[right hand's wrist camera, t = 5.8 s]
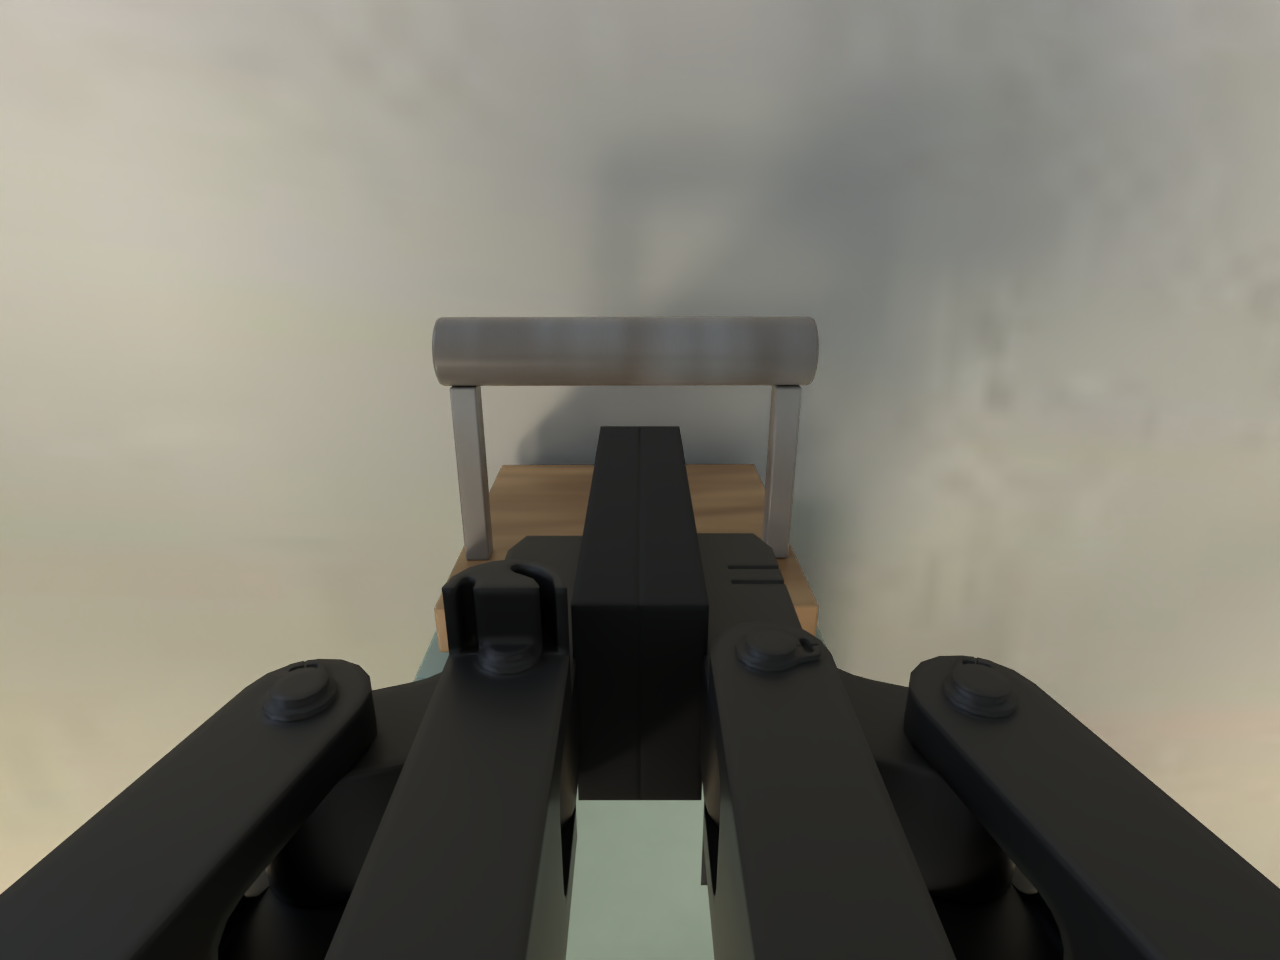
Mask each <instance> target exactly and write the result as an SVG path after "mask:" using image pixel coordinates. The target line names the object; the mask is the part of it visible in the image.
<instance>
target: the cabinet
mask: <svg viewBox="0 0 1280 960" xmlns="http://www.w3.org/2000/svg"><path fill="white" fill-rule="evenodd" d="M815 637H816V638H818V639H820V640H821V641H822V642H823V644H824V645H825V643H824V641H823V639H822V636H821V634H820V632H819V629H818V627H816V636H815ZM448 656H449V652H440V650H439V644H438V635H437V630H436V632H435V635H434V637H433V639H432V641H431V644H430V646H429V648H428V650H427V652H426V655H425V657H424V659H423V661H422V664H421V666H420V668H419V670H418V673H417V675H416V677H415V680H414V681H413V682H415V681H418V680H422V679H426V678H429V677H431V676H433V675H436V674H438V673H440V672H442V671H443V668H444V666H445V663H446V661H447V658H448ZM703 817H704V793H703V784H702V800H578V788H577V797H576V818H577V845H576V856H575V866H574V877H573V887H572V898H571V909H570V919H569V930H568V941H567V951H566V960H714V950H713V940H712V929H711V918H710V908H709V897H708V886H707V885H701V866H702V842H703Z"/></svg>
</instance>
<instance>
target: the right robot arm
mask: <svg viewBox="0 0 1280 960" xmlns="http://www.w3.org/2000/svg"><path fill="white" fill-rule="evenodd" d="M442 595H443V604H444V613H445V622H446V631H447V640H448V649H449V656H448V658H447V661H446V663H445V666H444V668H443V671H442V672H440V673H438V674H436V675H433V676H431V677H429V678H426V679H422V680H418V681H415V682H411V683H407V684H402V685H397V686H392V687H387V688H382V689H378V690H373V691H372V688H371V682H370V676H369V675H368V674H367V673H366V672H365V671H364V670H363V669H362V668H361V667H360V666H359V665H356V664H353V663H350V662H347V661H344V660H337V659H316V660H307V661H305V662H304V661H301V662H297V663H293V664H290V665H288V666H286V667H283V668H280V669H278V670H275V671H273V672H270V673H268V674H266V675H264V676H263V677H261V678H260V679H258V680H257V681H255V682H254V683H252V684H250V685H249V686H247V687H246V688H245V689H243V690H242V691H241V692H240V693H239V694H237V695H236V696H235V697H234V698H233V699H232V700H230V701H229V702H228V703H227V704H226V705H224V706H223V707H222V708H221V709H220V710H219V711H217V712H216V713H215V714H214V715H213V716H211V717H210V718H209V719H208V720H207V721H206V722H204V723H203V724H202V725H201V726H200V727H198V728H197V729H196V730H195V731H194V732H192V733H191V734H190V735H189V736H188V737H187V738H185V739H184V740H183V741H182V742H181V743H179V744H178V745H177V746H176V747H175V748H174V749H172V750H171V751H170V752H169V753H168V754H166V755H165V756H164V757H163V758H162V759H161V760H159V761H158V762H157V763H156V764H155V765H153V766H152V767H151V768H150V769H149V770H147V771H146V772H145V773H144V774H143V775H142V776H140V777H139V778H138V779H137V780H136V781H134V782H133V783H132V784H131V785H130V786H129V787H127V788H126V789H125V790H124V791H123V792H121V793H120V794H119V795H118V796H117V797H116V798H114V799H113V800H112V801H111V802H110V803H108V804H107V805H106V806H105V807H104V808H103V809H101V810H100V811H99V812H98V813H97V814H95V815H94V816H93V817H92V818H91V819H89V820H88V821H87V822H86V823H85V824H84V825H82V826H81V827H80V828H79V829H78V830H76V831H75V832H74V833H73V834H72V835H71V836H69V837H68V838H67V839H66V840H65V841H63V842H62V843H61V844H60V845H59V846H58V847H56V848H55V849H54V850H53V851H52V852H50V853H49V854H48V855H47V856H46V857H44V858H43V859H42V860H41V861H40V862H39V863H37V864H36V865H35V866H34V867H33V868H31V869H30V870H29V871H28V872H27V873H26V874H24V875H23V876H22V877H21V878H20V879H18V880H17V881H16V882H15V883H14V884H13V885H11V886H10V887H9V888H8V889H7V890H5V891H4V892H3V893H2V894H1V895H0V960H566V951H567V941H568V930H569V919H570V909H571V898H572V887H573V877H574V866H575V856H576V845H577V818H576V797H577V788H578V800H702V784H703V793H704V817H703V842H702V866H701V885H707V886H708V897H709V908H710V918H711V929H712V940H713V950H714V960H1280V889H1279V888H1278V887H1277V886H1276V885H1275V884H1273V883H1272V882H1271V881H1270V880H1269V879H1267V878H1266V877H1265V876H1264V875H1263V874H1261V873H1260V872H1259V871H1258V870H1257V869H1256V868H1254V867H1253V866H1252V865H1251V864H1250V863H1248V862H1247V861H1246V860H1245V859H1244V858H1242V857H1241V856H1240V855H1239V854H1238V853H1236V852H1235V851H1234V850H1233V849H1232V848H1230V847H1229V846H1228V845H1227V844H1226V843H1224V842H1223V841H1222V840H1221V839H1220V838H1218V837H1217V836H1216V835H1215V834H1214V833H1213V832H1211V831H1210V830H1209V829H1208V828H1207V827H1205V826H1204V825H1203V824H1202V823H1201V822H1199V821H1198V820H1197V819H1196V818H1195V817H1193V816H1192V815H1191V814H1190V813H1189V812H1187V811H1186V810H1185V809H1184V808H1183V807H1181V806H1180V805H1179V804H1178V803H1177V802H1175V801H1174V800H1173V799H1172V798H1171V797H1170V796H1168V795H1167V794H1166V793H1165V792H1164V791H1162V790H1161V789H1160V788H1159V787H1158V786H1156V785H1155V784H1154V783H1153V782H1152V781H1150V780H1149V779H1148V778H1147V777H1146V776H1144V775H1143V774H1142V773H1141V772H1140V771H1138V770H1137V769H1136V768H1135V767H1134V766H1132V765H1131V764H1130V763H1129V762H1128V761H1127V760H1125V759H1124V758H1123V757H1122V756H1121V755H1119V754H1118V753H1117V752H1116V751H1115V750H1113V749H1112V748H1111V747H1110V746H1109V745H1107V744H1106V743H1105V742H1104V741H1103V740H1101V739H1100V738H1099V737H1098V736H1097V735H1095V734H1094V733H1093V732H1092V731H1091V730H1089V729H1088V728H1087V727H1086V726H1085V725H1084V724H1082V723H1081V722H1080V721H1079V720H1078V719H1076V718H1075V717H1074V716H1073V715H1072V714H1070V713H1069V712H1068V711H1067V710H1066V709H1064V708H1063V707H1062V706H1061V705H1060V704H1058V703H1057V702H1056V701H1055V700H1054V699H1052V698H1051V697H1050V696H1049V695H1048V694H1046V693H1045V692H1044V691H1043V690H1042V689H1041V688H1039V687H1038V686H1037V685H1036V684H1034V683H1033V682H1031V681H1030V680H1028V679H1027V678H1025V677H1024V676H1022V675H1020V674H1019V673H1017V672H1016V671H1014V670H1012V669H1009V668H1007V667H1004V666H1002V665H999V664H996V663H994V662H992V661H989V660H985V659H981V658H974V657H969V656H938V657H935V658H932V659H929V660H926V661H923V662H921V663H920V664H919V665H918V666H917V667H916V668H915V669H914V670H913V671H912V672H911V676H910V682H909V687H904V686H899V685H894V684H889V683H884V682H879V681H874V680H870V679H866V678H863V677H859V676H855V675H852V674H850V673H847V672H845V671H843V670H840V669H838V668H837V667H836V665H835V662H834V660H833V657H832V655H831V653H830V652H829V650H828V649H827V648H826V646H825V645H824V644H823V642H822V641H821V640H820V639H818V638H816V637H815V636H813V635H812V634H810V633H809V632H807V631H805V630H803V629H802V627H801V624H800V621H799V619H798V616H797V613H796V611H795V608H794V605H793V603H792V600H791V597H790V595H789V592H788V589H787V587H786V584H784V578H783V576H782V573H781V570H780V569H779V565H778V562H777V560H776V557H775V554H774V552H773V549H772V548H771V547H770V546H769V545H768V544H766V543H765V542H764V541H762V540H761V539H760V538H759V537H757V536H756V535H755V534H754V533H697V530H696V524H695V518H694V512H693V506H692V500H691V494H690V488H689V482H688V476H687V470H686V465H685V459H684V453H683V447H682V441H681V435H680V429H679V427H601V429H600V435H599V441H598V447H597V453H596V459H595V465H594V470H593V476H592V482H591V488H590V494H589V500H588V506H587V512H586V518H585V524H584V530H583V536H526V537H525V538H523V539H522V540H521V541H519V542H518V543H517V544H516V545H514V546H513V547H512V548H511V549H509V550H508V552H507V555H506V557H505V560H498V561H490V562H486V563H483V564H479V565H475V566H472V567H469V568H467V569H465V570H463V571H461V572H460V573H458V574H456V575H454V576H452V577H451V578H450V579H449V581H448V582H447V583H446V584H445V585H444V586H443V587H442Z"/></svg>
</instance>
